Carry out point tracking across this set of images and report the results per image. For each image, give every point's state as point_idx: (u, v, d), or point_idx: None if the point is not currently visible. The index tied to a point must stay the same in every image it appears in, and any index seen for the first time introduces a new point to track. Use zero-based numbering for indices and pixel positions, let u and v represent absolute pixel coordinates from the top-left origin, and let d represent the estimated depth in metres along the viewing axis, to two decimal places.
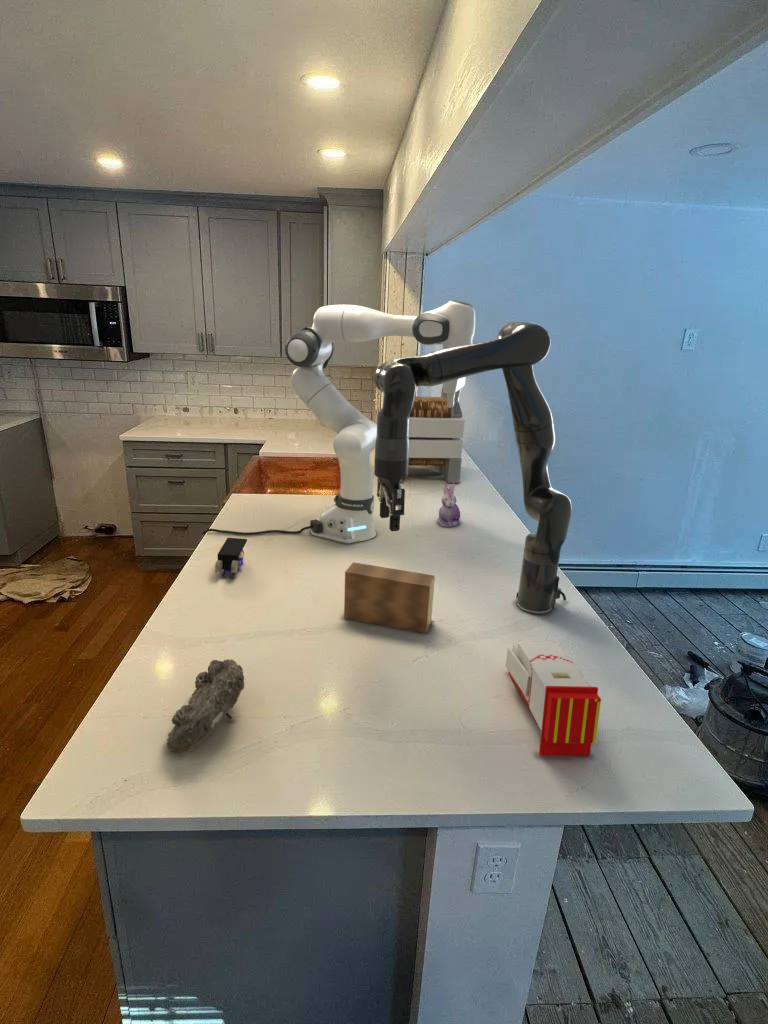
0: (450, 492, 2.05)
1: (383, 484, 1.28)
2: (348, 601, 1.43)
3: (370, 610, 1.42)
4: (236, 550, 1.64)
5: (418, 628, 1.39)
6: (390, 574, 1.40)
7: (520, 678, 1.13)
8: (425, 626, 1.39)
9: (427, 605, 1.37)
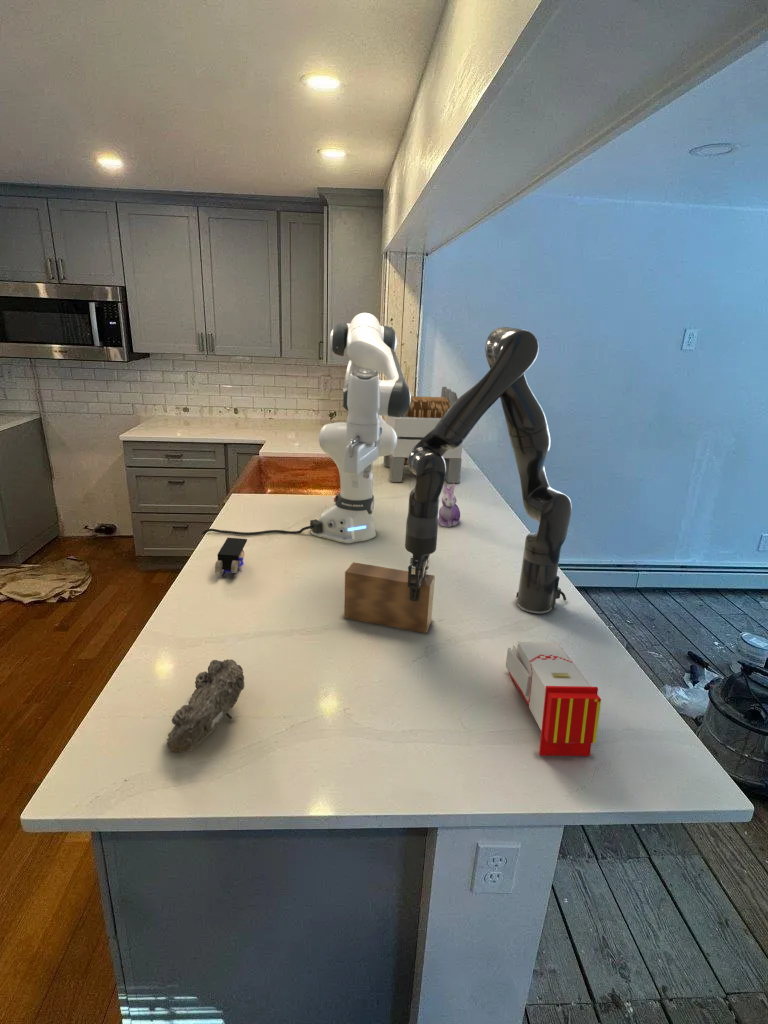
0: (450, 492, 2.05)
1: None
2: (348, 601, 1.43)
3: (370, 610, 1.42)
4: (236, 550, 1.64)
5: (418, 628, 1.39)
6: (390, 574, 1.40)
7: (520, 678, 1.13)
8: (425, 626, 1.39)
9: (427, 605, 1.37)
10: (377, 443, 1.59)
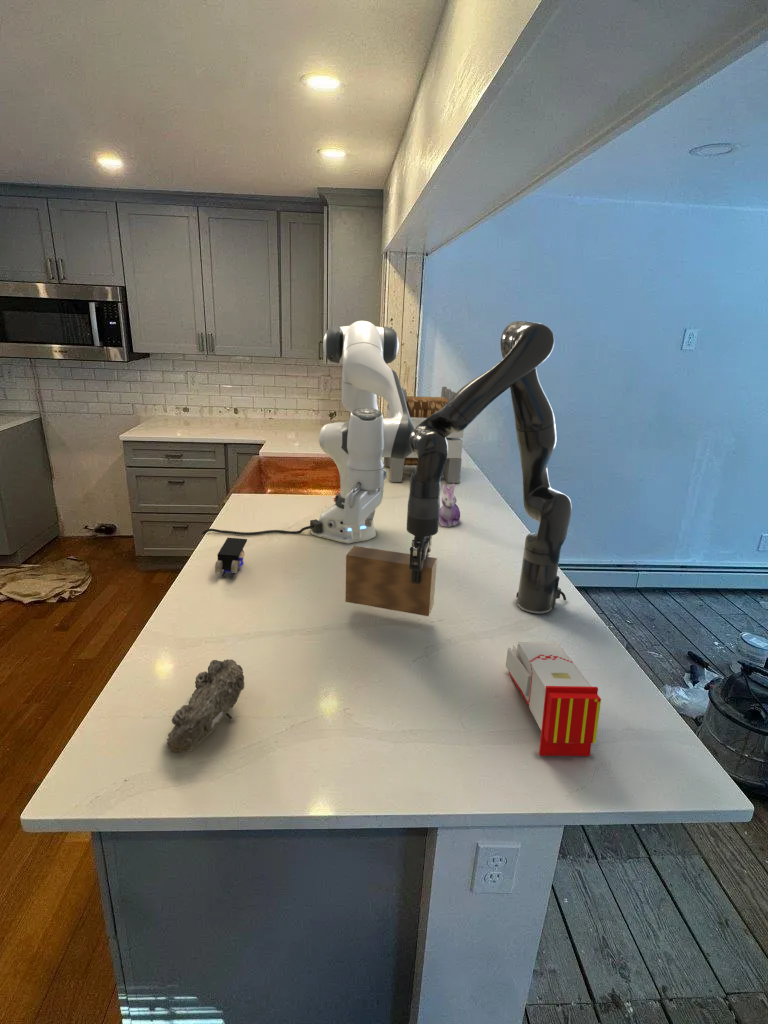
0: (450, 492, 2.05)
1: None
2: (349, 585, 1.41)
3: (371, 593, 1.40)
4: (236, 550, 1.64)
5: (420, 611, 1.38)
6: (391, 557, 1.38)
7: (520, 678, 1.13)
8: (427, 609, 1.37)
9: (429, 588, 1.35)
10: (380, 487, 1.43)
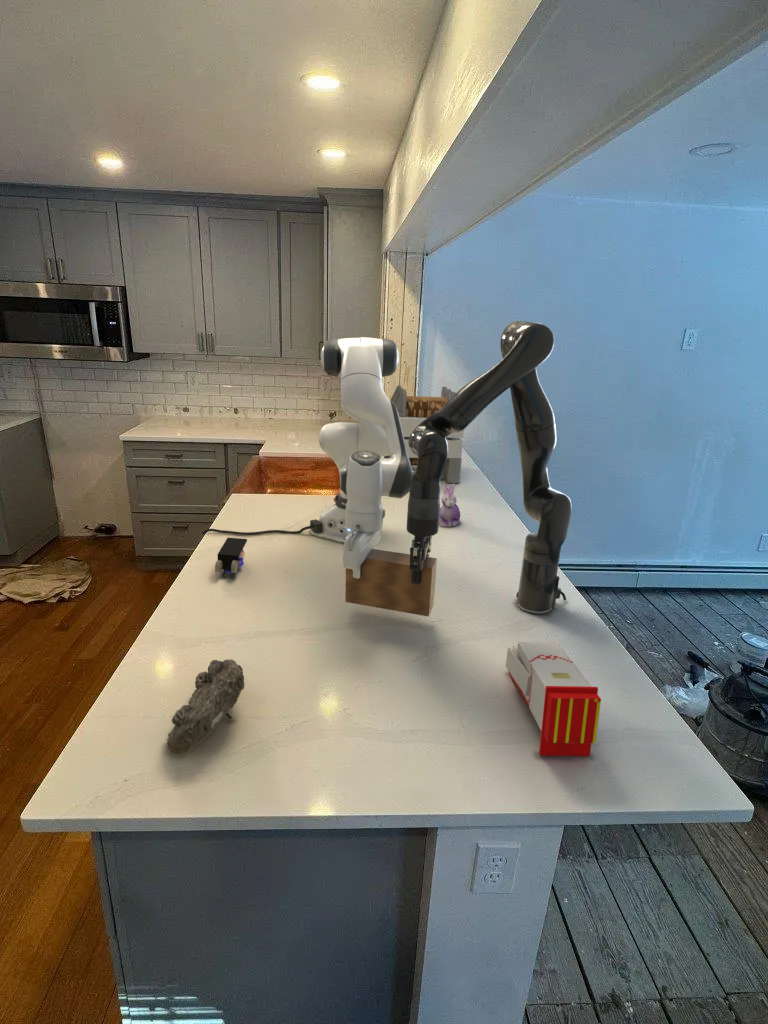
0: (450, 492, 2.05)
1: None
2: (349, 585, 1.41)
3: (371, 593, 1.40)
4: (236, 550, 1.64)
5: (420, 611, 1.38)
6: (391, 557, 1.38)
7: (520, 678, 1.13)
8: (427, 609, 1.37)
9: (429, 588, 1.35)
10: None
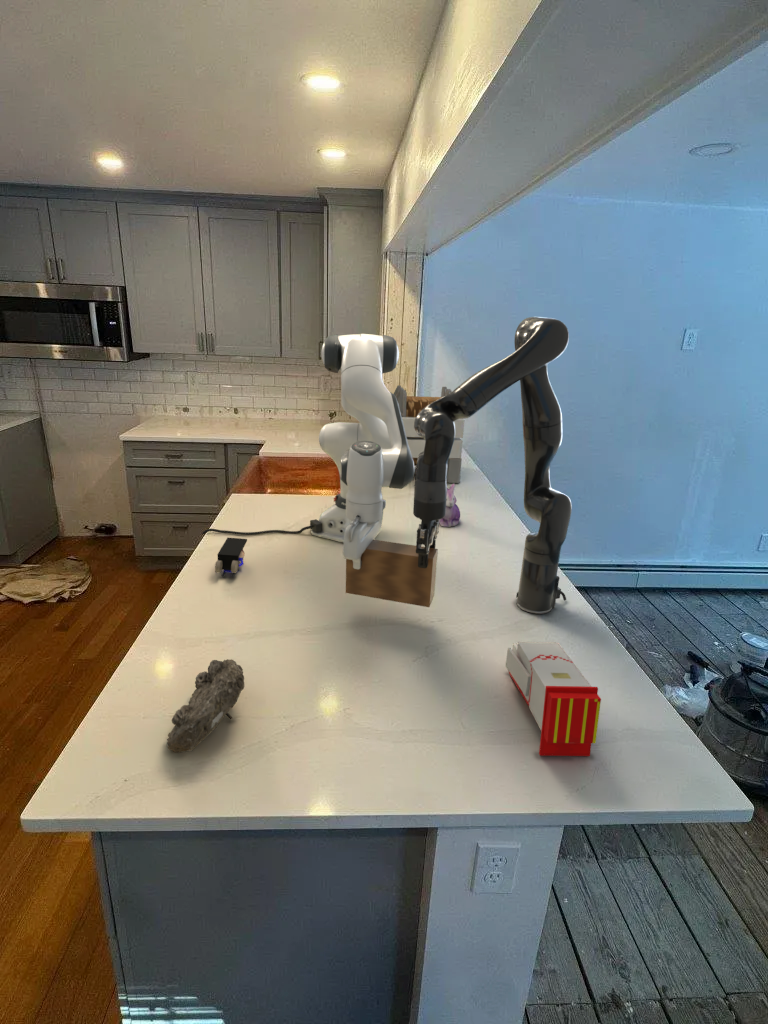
0: (450, 492, 2.05)
1: None
2: (349, 576, 1.40)
3: (371, 584, 1.39)
4: (236, 550, 1.64)
5: (421, 602, 1.37)
6: (392, 548, 1.37)
7: (520, 678, 1.13)
8: (428, 600, 1.37)
9: (430, 578, 1.35)
10: None
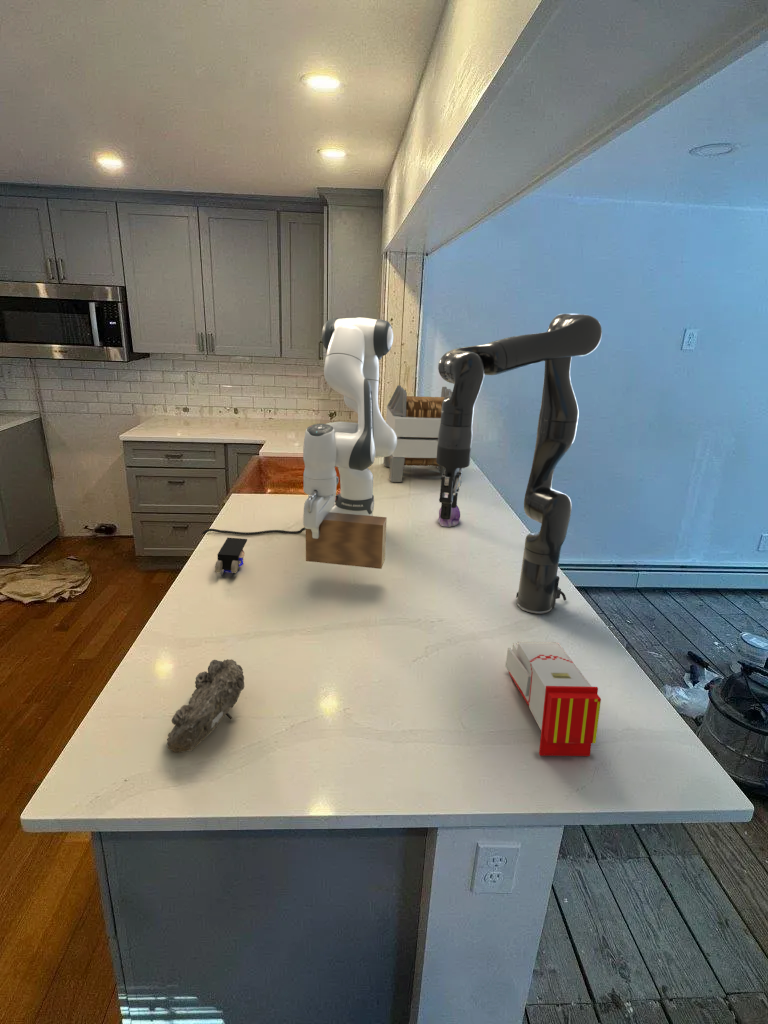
0: None
1: None
2: (309, 545, 1.57)
3: (329, 551, 1.56)
4: (236, 550, 1.64)
5: (374, 565, 1.56)
6: (346, 518, 1.55)
7: (520, 678, 1.13)
8: (380, 562, 1.55)
9: (381, 543, 1.53)
10: None
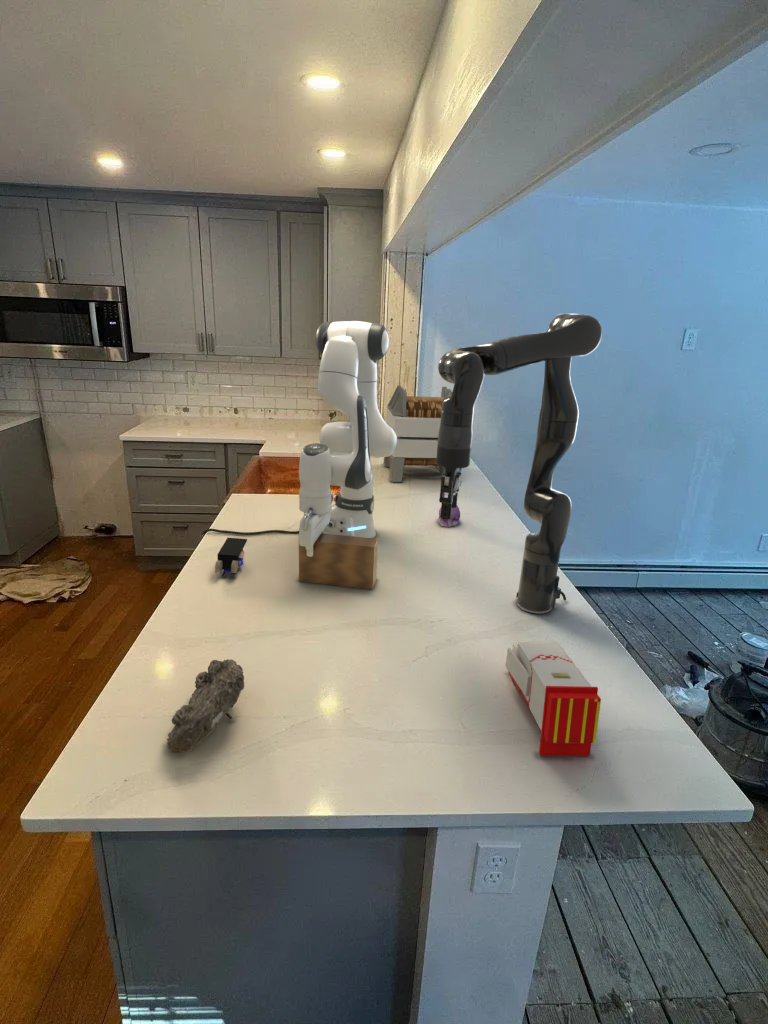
0: None
1: None
2: (302, 566, 1.61)
3: (322, 572, 1.60)
4: (236, 550, 1.64)
5: (365, 585, 1.60)
6: (338, 539, 1.59)
7: (520, 678, 1.13)
8: (371, 583, 1.59)
9: (372, 564, 1.57)
10: None
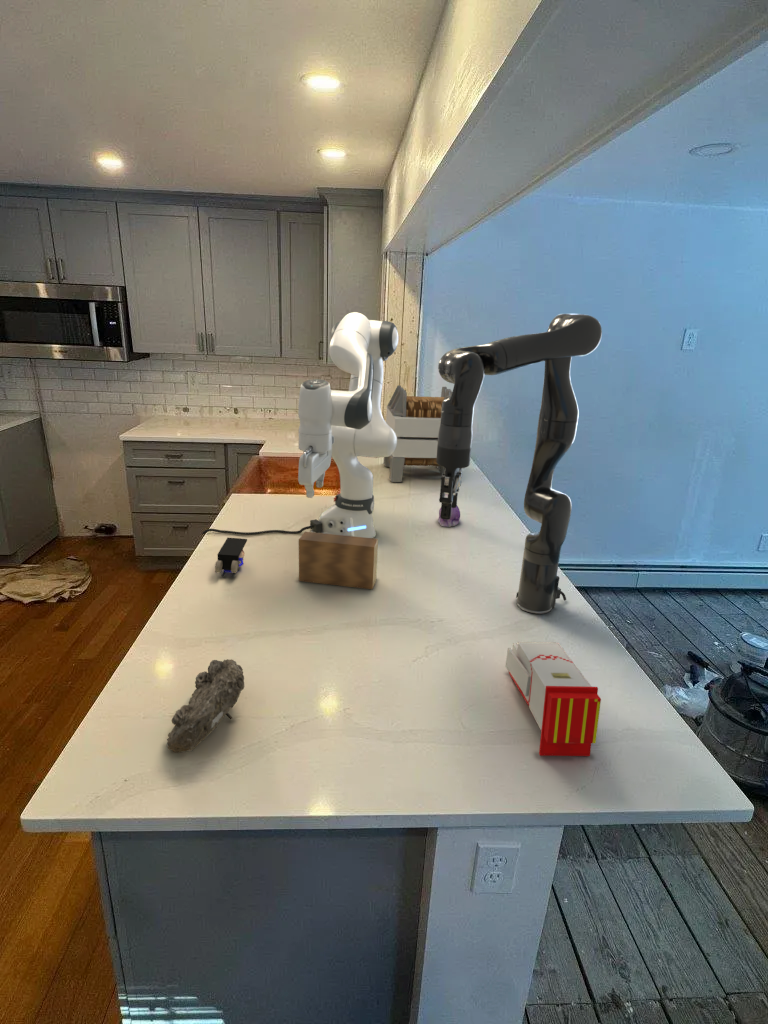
0: None
1: None
2: (302, 566, 1.61)
3: (322, 572, 1.60)
4: (236, 550, 1.64)
5: (365, 585, 1.60)
6: (338, 539, 1.59)
7: (520, 678, 1.13)
8: (371, 583, 1.59)
9: (372, 564, 1.57)
10: (329, 452, 1.60)
